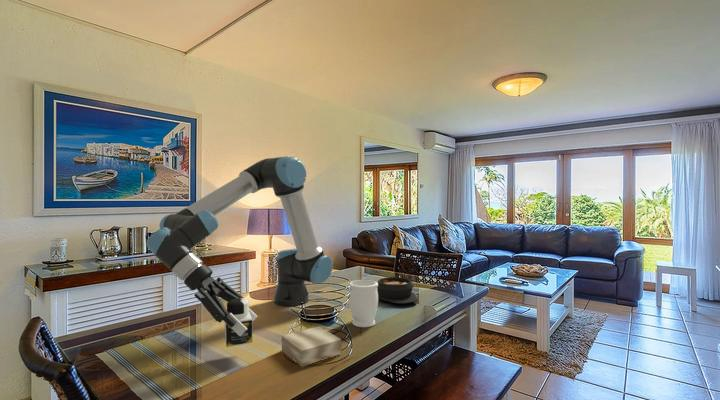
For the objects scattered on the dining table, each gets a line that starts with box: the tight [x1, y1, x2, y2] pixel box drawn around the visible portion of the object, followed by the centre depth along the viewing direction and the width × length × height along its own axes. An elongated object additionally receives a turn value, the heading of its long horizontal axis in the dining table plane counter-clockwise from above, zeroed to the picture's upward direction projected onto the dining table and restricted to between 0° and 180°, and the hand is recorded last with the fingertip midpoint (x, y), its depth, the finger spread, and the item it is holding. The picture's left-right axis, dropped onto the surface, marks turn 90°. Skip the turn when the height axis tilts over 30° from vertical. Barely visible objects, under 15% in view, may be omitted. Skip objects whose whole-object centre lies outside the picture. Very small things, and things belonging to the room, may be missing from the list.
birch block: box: [281, 326, 342, 366], centre depth 107 cm, size 13×13×5 cm
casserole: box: [377, 276, 418, 305], centre depth 161 cm, size 25×19×8 cm
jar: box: [349, 279, 379, 328], centre depth 131 cm, size 11×10×15 cm
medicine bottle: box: [224, 297, 253, 348], centre depth 104 cm, size 7×7×12 cm
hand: (249, 325), depth 104 cm, fingers closed on medicine bottle, 9 cm apart
